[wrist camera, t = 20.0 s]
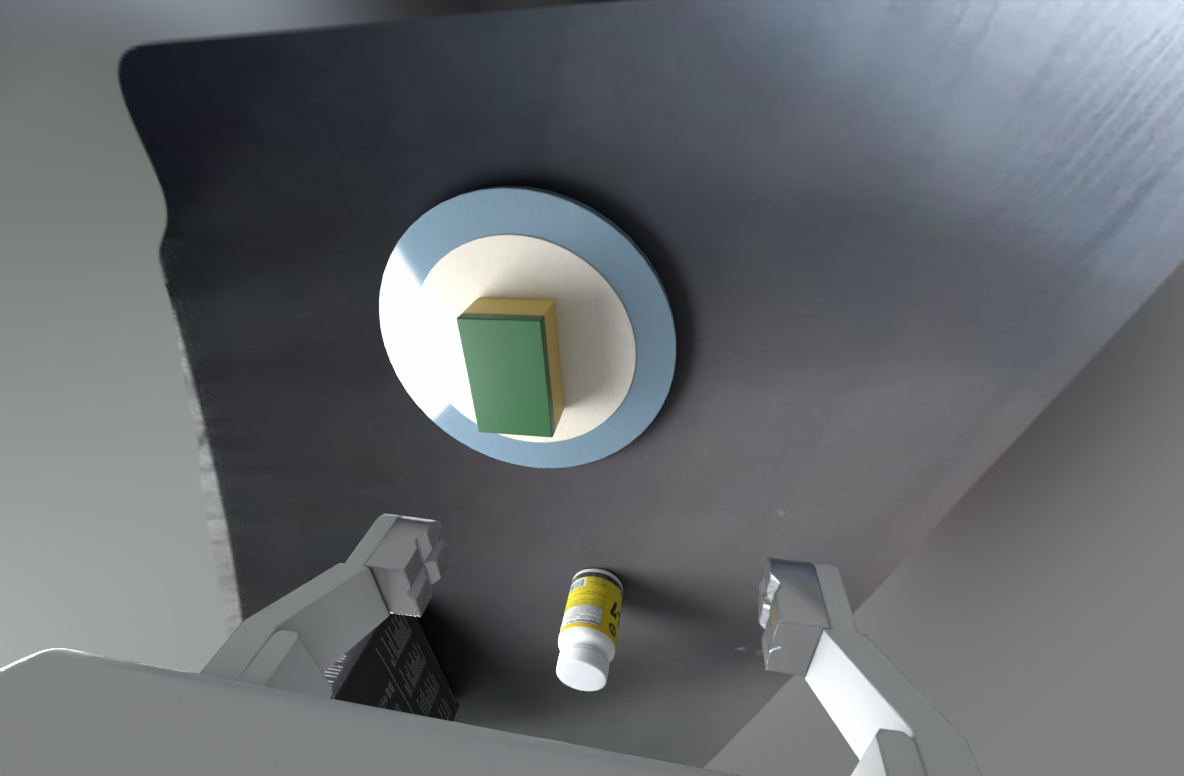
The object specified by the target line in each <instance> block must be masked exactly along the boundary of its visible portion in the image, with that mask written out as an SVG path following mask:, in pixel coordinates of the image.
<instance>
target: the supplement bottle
mask: <svg viewBox="0 0 1184 776" xmlns="http://www.w3.org/2000/svg"><path fill="white" fill-rule="evenodd" d="M622 597H623V587H622V584H621V582H620V581H619V579H618V578H617V577H616V576H615V575H613V574H612V573H610V572H608V571H605V570H602V569H585V570H582V571H580V572H578V573H577V574H576V575H575V576H574V578H573V580H572V584H571V588H570V593H569V597H568V601H567V605H566V609H565V613H564V618H563V622H562V626H561V630H560V634H559V639H558V645H559V649H560V654H559V657H558V663H557V668H556V673H557V676H558V678H559V679H560V680H561V681H562V682H563V683H565V684H566V685H568V686H570V687H572V688H574V689H578V690H582V691H596V690H599V689H601V688H603V687H604V686H605V684H606V681H607V676H608V671H609V663H610V662H611V661H612V659H613V657H614V655H615V650H616V642H617V635H618V628H619V620H620V612H621V604H622Z"/></svg>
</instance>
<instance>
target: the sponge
mask: <svg viewBox="0 0 1184 776" xmlns="http://www.w3.org/2000/svg"><path fill="white" fill-rule="evenodd" d="M457 324H458V329H459V334H460V340H461V345H462V350H463V355H464V360H465V365H466V370H467V375H468V380H469V385H470V390H471V395H472V400H473V406H474V411H475V416H476V421H477V426H478V431H479V432H481V433H495V434H510V435H524V436H538V437H553V435H554V433H555V430H556V428H557V426H558V423H559V421H560V418H561V416H562V413H563V411H564V400H563V388H562V376H561V364H560V352H559V340H558V328H557V317H556V305H555V299H516V298H477V299H476V300H475V301H474V302H473V303H472V304H471V305H470V306H469V307H468V308H467V309H466V310H465V311H463V312H462V314H461V315H459V316H458V317H457Z"/></svg>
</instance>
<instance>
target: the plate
mask: <svg viewBox="0 0 1184 776" xmlns="http://www.w3.org/2000/svg"><path fill="white" fill-rule="evenodd" d="M477 298H516V299H555V305H556V317H557V328H558V340H559V352H560V364H561V376H562V388H563V400H564V411H563V413H562V416H561V418H560V421H559V423H558V426H557V428H556V430H555V433H554V435H553V437H538V436H524V435H510V434H495V433H481V432H479V431H478V426H477V421H476V416H475V411H474V406H473V400H472V395H471V390H470V385H469V380H468V375H467V370H466V365H465V360H464V355H463V350H462V345H461V340H460V334H459V329H458V324H457V317H458V316H459V315H461V314H462V312H463V311H465V310H466V309H467V308H468V307H469V306H470V305H471V304H472V303H473V302H474V301H475V300H476V299H477ZM379 315H380V326H381V331H382V336H383V340H384V345H385V348H386V351H387V353H388V356H389V359H390V362H391V364H392V366H393V368H394V370H395V372H396V374H397V376H398V378H399V380H400V381H401V383H402V384H403V386H404V388H405V389H406V391H407V392H408V394H409V395H410V396H411V397H412V399H413V400H414V401H415V403H416V404H417V405H418V406H419V407H420V409H421V410H422V411H423V412H424V413H425V414H426V415H427V416H428V417H429V418H430V419H431V420H432V421H433V422H435V423H436V424H437V425H438V426H439V427H440V428H442V429H443V430H444V431H445V432H447V433H448V434H450V435H451V436H452V437H454V438H455V439H457V440H458V441H460V442H462V443H463V444H465V445H467V446H469V447H470V448H472V449H474V450H476V451H478V452H481V453H483V454H485V455H487V456H490V457H493V458H496V459H499V460H502V461H504V462H508V463H513V464H517V465H521V466H529V467H536V468H562V467H572V466H577V465H582V464H587V463H590V462H593V461H596V460H599V459H602V458H604V457H607V456H609V455H611V454H613V453H615V452H617V451H619V450H620V449H622V448H623V447H625V446H626V445H628V444H630V443H631V442H632V441H633V440H634V439H636V438H637V437H638V436H639V435H640V434H641V433H643V431H644V430H645V429H646V428H647V427H648V426H649V425H650V423H651V422H652V421H653V420H654V418H655V417H656V415H657V414H658V412H659V411H660V409H661V408H662V406H663V404H664V402H665V399H666V397H667V395H668V393H669V391H670V387H671V384H672V380H673V376H674V372H675V364H676V356H677V337H676V326H675V320H674V314H673V310H672V307H671V304H670V301H669V298H668V294H667V292H666V290H665V287H664V285H663V283H662V281H661V279H660V277H659V275H658V273H657V271H656V270H655V268H654V267H653V265H652V264H651V262H650V261H649V259H648V258H647V256H646V255H645V253H644V252H643V251H642V250H641V249H640V248H639V247H638V245H637V244H636V243H635V242H634V241H633V240H632V238H631V237H630V236H628V235H627V234H626V233H625V232H624V231H623V230H622V229H621V228H619V227H618V226H617V225H616V224H615V223H614V222H612V221H611V220H610V219H608V218H607V217H605V216H604V215H602V214H601V213H599V212H598V211H596V210H595V209H593V208H591V207H589V206H587V205H585V204H583V203H581V202H579V201H577V200H575V199H573V198H570V197H567V196H564V195H561V194H559V193H556V192H553V191H549V190H544V189H539V188H534V187H528V186H508V185H505V186H495V187H485V188H481V189H477V190H473V191H469V192H465V193H463V194H460V195H458V196H456V197H453V198H451V199H449V200H446V201H444V202H442V203H440V204H438V205H437V206H435V207H434V208H432V209H430V210H429V211H427V212H426V213H424V214H423V215H422V216H421V217H420V218H419V219H418V220H416V221H415V222H414V223H413V224H412V225H411V226H410V227H409V228H408V229H407V231H406V232H405V233H404V234H403V236H402V237H401V238H400V240H399V241H398V243H397V244H396V246H395V248H394V250H393V252H392V253H391V255H390V257H389V260H388V263H387V265H386V268H385V271H384V274H383V278H382V284H381V289H380V300H379Z"/></svg>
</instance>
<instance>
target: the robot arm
mask: <svg viewBox="0 0 1184 776" xmlns="http://www.w3.org/2000/svg"><path fill="white" fill-rule="evenodd" d="M442 531H443V529H442V526H441V523H440V521H436V520H429V519H422V518H415V517H408V516H401V515H393V514H385V513H384V514H383V515H381V516H380V517H378V518H377V520H376V521H375V522H374V524H373V525H372V527H371V528H370V529H369V531H368V532H367V533H366V535H365V536H364V538H363V539H362V540H361V542H360V543H359V544H358V546H357V547H356V549H355V550H354V551H353V553H352V554H351V555H350V557H349V558H348V560H347V561H346V562H345V564H344V563H339V564H337V565H335V566H334V567H332V568H330V569H329V570H327V571H325V572H324V573H322V574H320V575H319V576H317V577H315V578H314V579H312V580H310V581H309V582H307V583H306V584H304V585H302V586H301V587H299V588H297V589H296V590H294V591H292V592H291V593H289V594H287V595H286V596H284V597H282V598H281V599H279V600H277V601H276V602H274V603H272V604H271V605H269V606H267V607H266V608H264V609H263V610H261V611H259V612H258V613H256V614H254V615H253V616H251V617H249V618H248V619H246V620H244V621H243V622H242V623H241V624H240V626H239V627H238V628H237V629H236V630H235V632H234V633H233V634H232V635H231V636H230V638H229V639H228V640H227V641H226V642H225V644H224V645H223V646H222V647H221V648H220V650H219V651H218V652H217V653H216V654H215V655H214V657H213V658H212V659H211V660H210V661H209V663H208V664H207V665H206V666H205V667H204V669H203V670H202V671H201V672H200V673H199V674H197V673H191V672H186V671H181V670H176V669H170V668H165V667H160V666H155V665H149V664H144V663H139V662H133V661H128V660H123V659H118V658H111V657H107V656H102V655H96V654H91V653H86V652H81V651H76V650H71V649H63V648H54V649H48V650H44V651H40V652H38V653H35V654H33V655H31V656H28V657H26V658H24V659H21V660H19V661H17V662H15V663H12V664H10V665H8V666H6V667H4V668H2V669H0V776H739V775H734V774H729V773H723V772H718V771H713V770H708V769H702V768H697V767H692V766H686V765H681V764H676V763H670V762H665V761H660V760H655V759H649V758H644V757H639V756H633V755H628V754H623V753H617V752H612V751H607V750H602V749H596V748H591V747H586V746H580V745H575V744H570V743H564V742H559V741H554V740H548V739H543V738H538V737H533V736H527V735H522V734H517V733H511V732H506V731H501V730H495V729H490V728H485V727H479V726H474V725H469V724H463V723H458V722H453V721H447V720H442V719H437V718H431V717H426V716H421V715H416V714H410V713H405V712H400V711H394V710H389V709H384V708H378V707H373V706H368V705H362V704H357V703H352V702H346V701H341V700H336V699H330V697H331V695H332V694H333V693H332V687H331V686H330V684H329V682H328V681H327V679H326V678H325V676H324V674H323V672H324V671H326V670H327V669H328V668H329V667H330V666H331V665H333V664H334V663H335V662H336V661H337V660H338V659H340V658H341V657H342V656H343V655H344V654H345V653H346V652H348V651H349V650H350V649H351V648H352V647H353V646H355V645H356V644H357V643H358V642H359V641H360V640H362V639H363V638H364V637H365V636H366V635H367V634H369V633H370V632H371V631H372V630H373V629H374V628H376V627H377V626H378V625H379V624H380V623H381V622H383V621H384V620H385V619H386V618H387V617H388V616H389V613H390V614H398V615H406V616H414V617H421V616H422V614H423V612H424V610H425V608H426V606H427V604H428V602H429V600H430V598H431V596H432V594H433V592H432V587H431V585H432V584H434V583H435V582H436V581H438V580H439V579H441V577H442V575H443V573H444V570H445V568H446V564H447V560H448V546H447V543H446V541H445V540H444V539H443V538H442V537H440V535H441V533H442ZM763 572H764V578H763V579H762V580H760V583H759V589H758V601H757V602H758V616H759V622H760V624H761V625H762V626H763V627H764V633H763V637H762V648H763V656H764V663H765V670H770V671H776V672H781V673H787V674H793V675H799V676H804V677H805V679H806V681H807V682H808V684H809V685H810V687H811V688H812V690H813V691H814V693H815V694H816V696H817V697H818V699H819V700H820V702H821V703H822V705H823V706H824V708H825V709H826V711H827V712H828V713H829V715H830V717H831V718H832V719H833V721H834V722H835V724H836V725H837V727H838V728H839V730H840V731H841V733H842V734H843V736H844V737H845V739H846V740H847V742H848V743H849V745H850V746H851V748H852V749H853V751H854V752H855V753H856V755H857V757H858V758H859V760H860V761H859V763H858V765H857V766H856V768H855V770H854V772H853V773H852V775H851V776H982V774H981V772H980V769H979V767H978V765H977V762H976V760H975V758H974V755H973V753H972V750H971V748H970V746H969V743H968V741H967V740H966V739H965V738H964V737H963V736H962V735H961V734H960V733H959V732H958V730H956V728H955V727H954V726H953V725H952V724H951V723H950V722H949V721H948V720H947V719H946V718H945V717H944V716H943V715H942V714H941V713H940V712H939V711H938V710H937V709H936V707H935V706H934V705H933V704H932V703H931V702H930V701H929V700H928V699H927V698H926V697H925V696H924V695H923V694H922V693H921V692H920V691H919V690H918V689H917V688H916V687H915V685H914V684H913V683H911V681H910V680H909V679H908V678H907V677H906V676H905V675H904V674H903V673H902V672H901V671H900V670H899V669H898V668H897V667H896V666H895V665H894V664H893V663H892V661H891V660H890V659H889V658H888V657H887V656H886V655H885V654H884V653H883V652H882V651H881V650H880V649H879V648H878V647H877V646H876V645H875V644H874V643H873V642H872V640H871V639H869V637H868V636H867V635H865V634H859V633H858V630H857V627H856V623H855V620H854V617H853V614H852V610H851V607H850V604H849V601H848V597H847V594H846V591H845V588H844V585H843V581H842V578H841V575H840V572H839V569H838V568H837V567H836V566H833V565H824V564H815V563H810V562H801V561H791V560H781V559H772V558H767V559H766V560H765V562H764V566H763Z"/></svg>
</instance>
